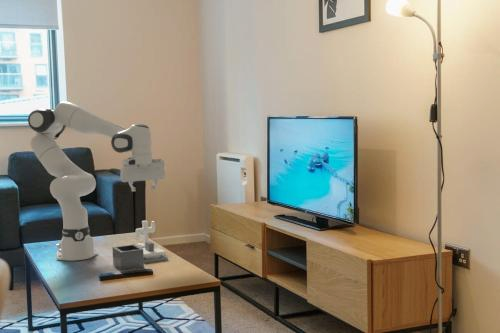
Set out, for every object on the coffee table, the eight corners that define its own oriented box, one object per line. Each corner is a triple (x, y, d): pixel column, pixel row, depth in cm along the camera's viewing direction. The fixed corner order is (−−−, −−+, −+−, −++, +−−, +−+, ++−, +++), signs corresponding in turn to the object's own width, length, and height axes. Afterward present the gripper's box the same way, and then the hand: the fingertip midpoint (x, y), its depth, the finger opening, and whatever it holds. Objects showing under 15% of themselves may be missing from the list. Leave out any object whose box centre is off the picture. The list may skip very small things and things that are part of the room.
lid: (134, 255, 307) (133, 241, 306) (156, 252, 312) (155, 238, 311) (143, 260, 296) (142, 246, 295) (165, 257, 301) (165, 243, 300)
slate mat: (132, 256, 307) (132, 254, 307) (157, 253, 313) (157, 251, 313) (142, 263, 295) (142, 260, 295) (167, 259, 300) (167, 257, 300)
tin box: (113, 265, 293) (112, 247, 292) (135, 261, 298) (134, 244, 297) (121, 270, 282) (120, 252, 282) (144, 267, 287) (143, 249, 286)
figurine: (134, 251, 319) (133, 220, 318) (153, 249, 323) (152, 218, 321) (138, 254, 312) (137, 222, 311) (157, 251, 316) (156, 220, 315)
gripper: (161, 158, 308) (162, 187, 310) (118, 161, 299) (119, 191, 300) (166, 158, 303) (167, 189, 304) (122, 162, 293) (124, 193, 295)
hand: (143, 190), depth 302 cm, fingers open, 8 cm apart
